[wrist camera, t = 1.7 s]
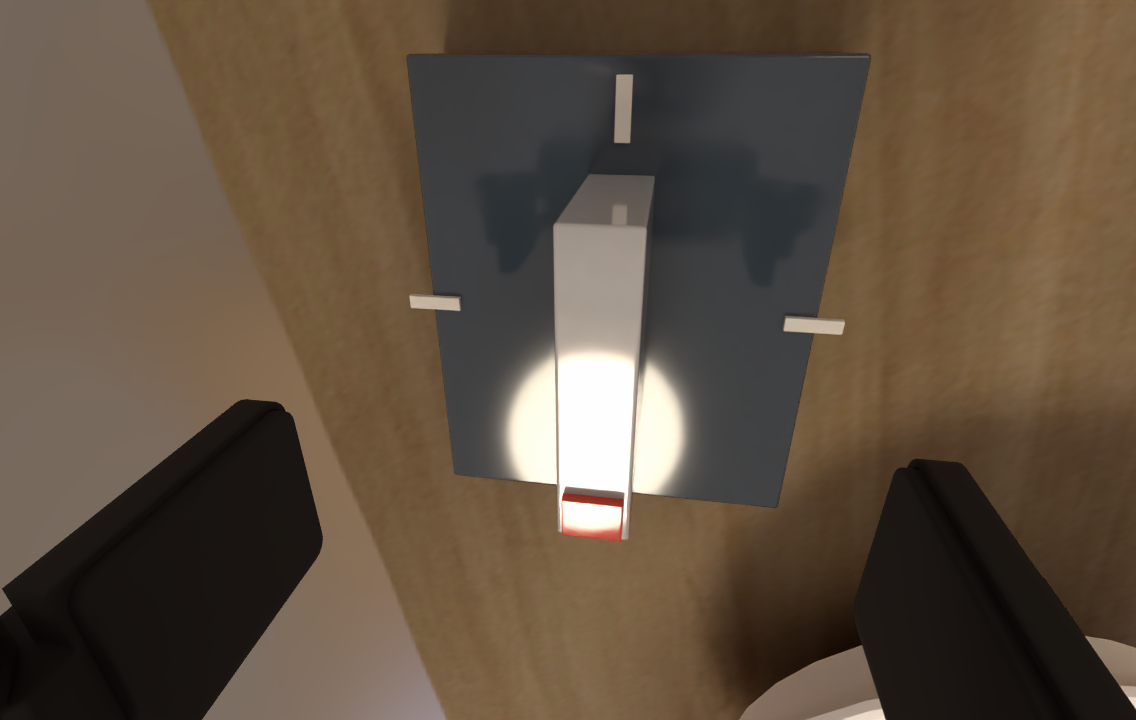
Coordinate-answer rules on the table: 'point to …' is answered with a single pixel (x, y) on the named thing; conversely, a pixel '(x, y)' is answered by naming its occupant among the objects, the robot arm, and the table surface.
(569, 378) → the grey block
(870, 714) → the bowl
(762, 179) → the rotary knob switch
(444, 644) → the table surface
